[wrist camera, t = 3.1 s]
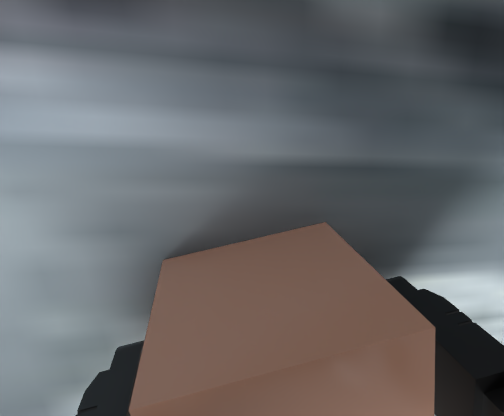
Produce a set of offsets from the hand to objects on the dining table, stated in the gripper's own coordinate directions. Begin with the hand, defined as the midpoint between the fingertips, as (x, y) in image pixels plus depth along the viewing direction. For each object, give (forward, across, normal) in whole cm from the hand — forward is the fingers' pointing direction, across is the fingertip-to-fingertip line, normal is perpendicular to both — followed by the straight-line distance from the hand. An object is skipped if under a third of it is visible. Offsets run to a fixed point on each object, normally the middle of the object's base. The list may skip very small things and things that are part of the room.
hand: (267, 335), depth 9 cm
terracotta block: (+1, 0, 0) cm, 1 cm away
